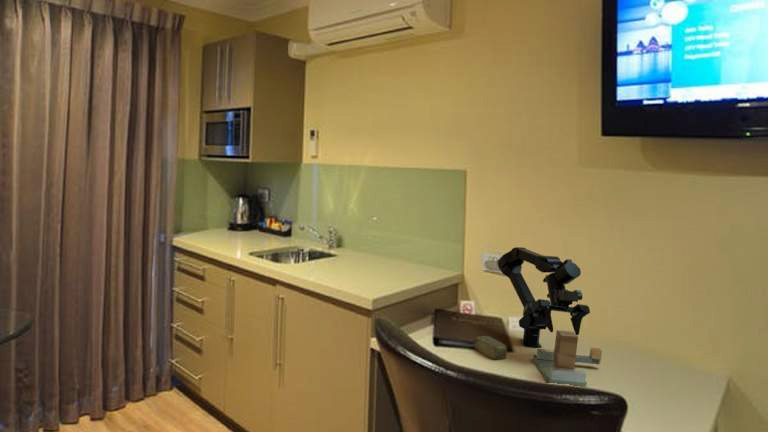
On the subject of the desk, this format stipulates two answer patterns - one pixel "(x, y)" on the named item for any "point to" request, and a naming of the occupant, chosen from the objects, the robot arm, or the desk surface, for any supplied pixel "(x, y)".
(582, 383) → the frosted green glass slab
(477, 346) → the stone block
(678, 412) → the desk surface
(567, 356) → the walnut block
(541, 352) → the light brown wooden block
